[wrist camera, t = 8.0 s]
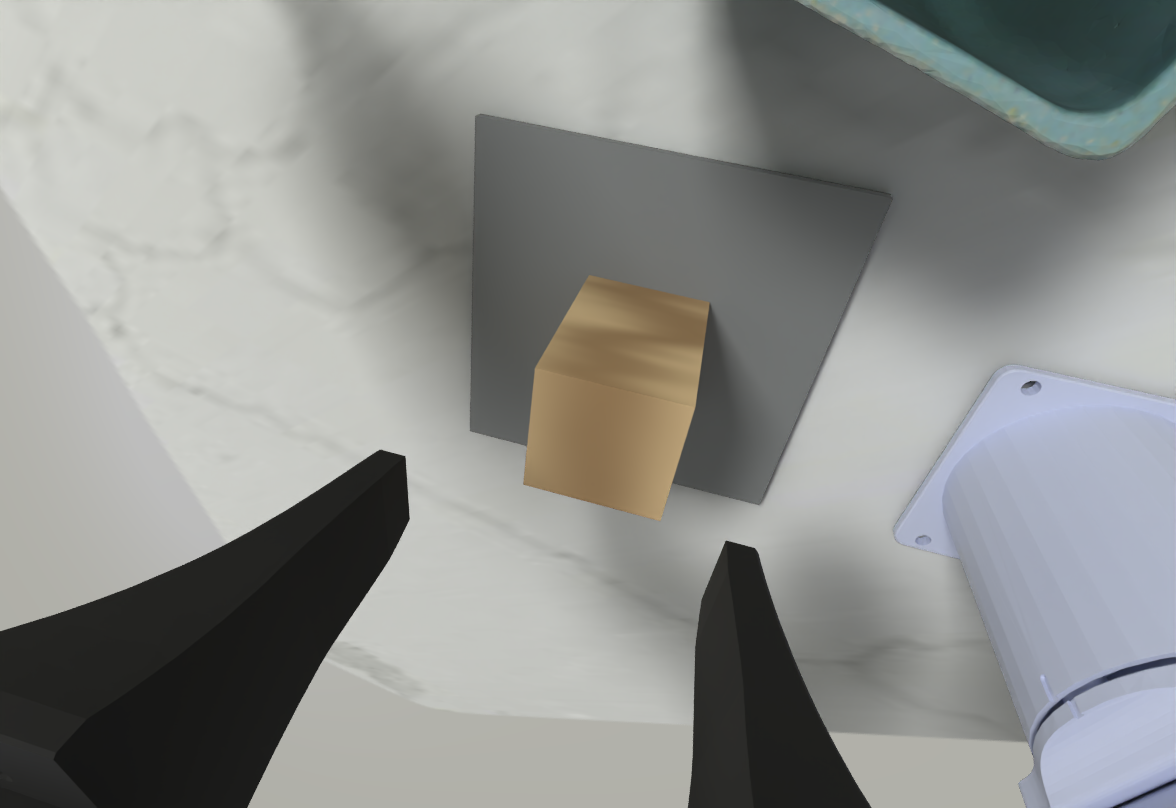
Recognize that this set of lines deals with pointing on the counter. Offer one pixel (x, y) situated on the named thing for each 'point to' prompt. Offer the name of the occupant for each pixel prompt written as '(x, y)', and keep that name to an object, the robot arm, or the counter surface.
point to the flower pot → (1036, 61)
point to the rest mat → (663, 278)
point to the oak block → (616, 396)
